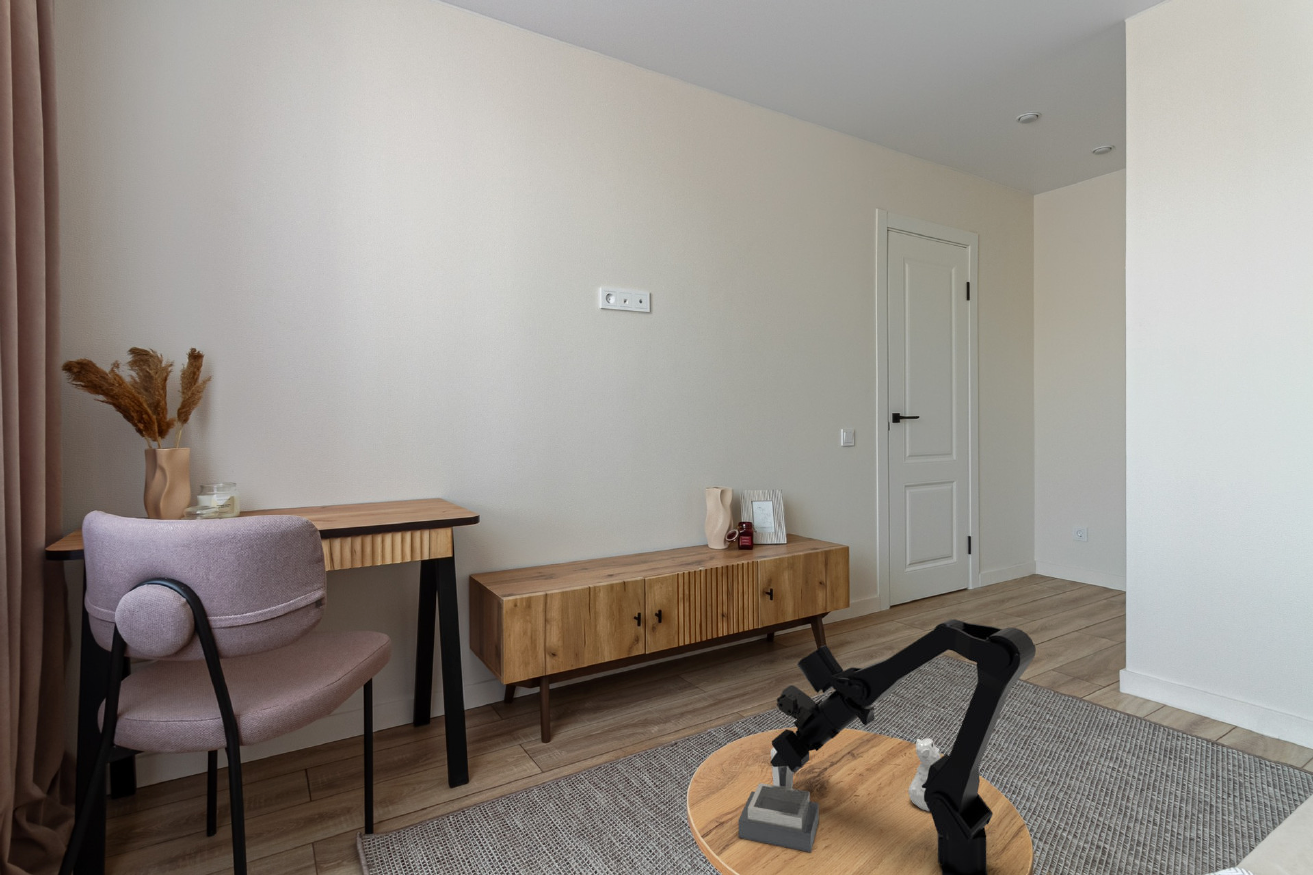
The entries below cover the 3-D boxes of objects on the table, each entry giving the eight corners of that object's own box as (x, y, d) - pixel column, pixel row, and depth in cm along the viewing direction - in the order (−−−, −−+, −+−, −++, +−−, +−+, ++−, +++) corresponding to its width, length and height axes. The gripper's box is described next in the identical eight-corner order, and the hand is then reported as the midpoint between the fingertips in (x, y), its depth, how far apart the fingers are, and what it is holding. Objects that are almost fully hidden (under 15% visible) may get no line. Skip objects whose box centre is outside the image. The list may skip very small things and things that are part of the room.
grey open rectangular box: (818, 820, 121) (818, 791, 121) (810, 852, 112) (810, 821, 112) (751, 807, 125) (751, 780, 125) (738, 837, 116) (738, 808, 116)
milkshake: (799, 804, 126) (799, 749, 127) (770, 801, 128) (770, 746, 128) (799, 791, 131) (799, 739, 131) (771, 789, 132) (771, 736, 132)
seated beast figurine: (966, 821, 121) (966, 753, 121) (916, 819, 121) (915, 751, 121) (949, 793, 130) (948, 730, 130) (902, 791, 131) (901, 728, 131)
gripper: (823, 662, 135) (772, 706, 141) (781, 691, 119) (726, 739, 126) (863, 712, 130) (808, 755, 136) (825, 749, 115) (766, 795, 121)
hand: (777, 759), depth 130 cm, fingers closed on milkshake, 4 cm apart
